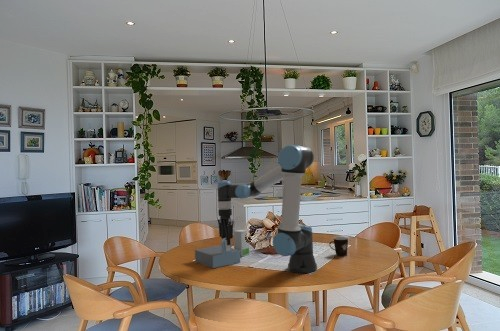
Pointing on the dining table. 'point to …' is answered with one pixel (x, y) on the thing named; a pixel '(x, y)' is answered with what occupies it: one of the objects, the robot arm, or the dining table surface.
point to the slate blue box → (208, 255)
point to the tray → (226, 257)
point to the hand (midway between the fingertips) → (226, 250)
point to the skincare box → (241, 242)
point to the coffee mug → (340, 245)
